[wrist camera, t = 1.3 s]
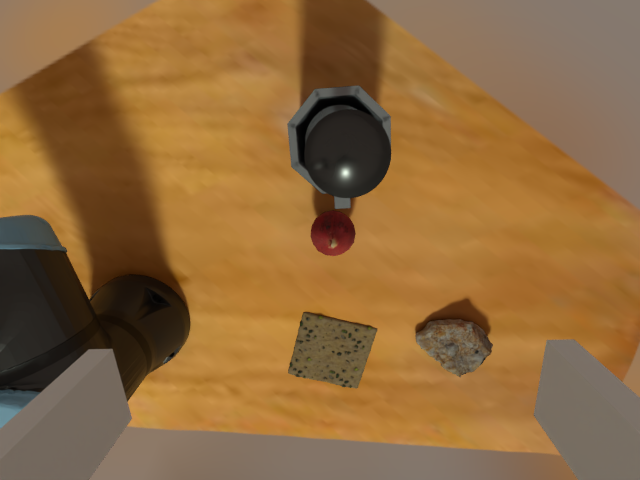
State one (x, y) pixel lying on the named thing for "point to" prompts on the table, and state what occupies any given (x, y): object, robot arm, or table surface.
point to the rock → (455, 344)
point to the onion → (332, 233)
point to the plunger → (346, 151)
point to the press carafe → (317, 103)
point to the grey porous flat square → (331, 350)
